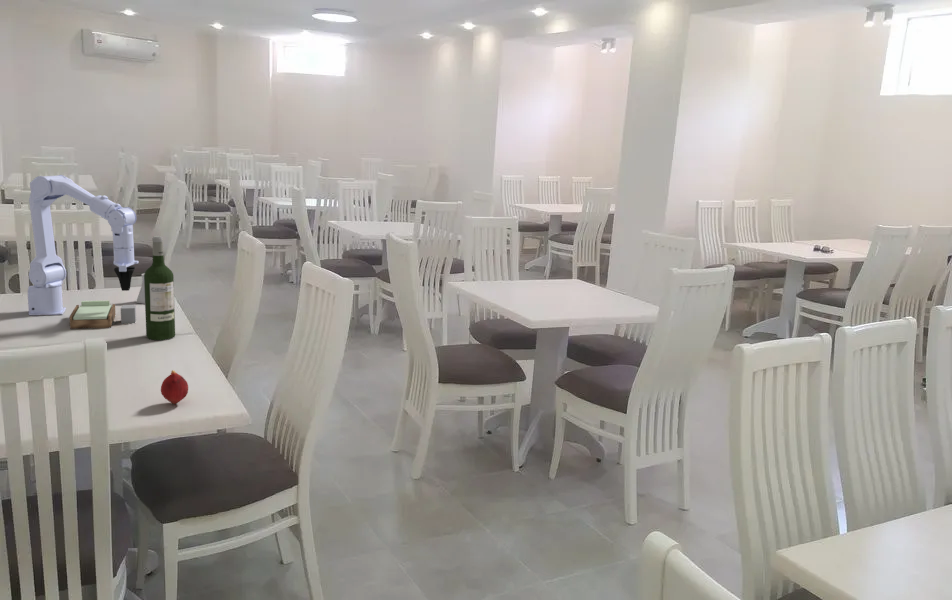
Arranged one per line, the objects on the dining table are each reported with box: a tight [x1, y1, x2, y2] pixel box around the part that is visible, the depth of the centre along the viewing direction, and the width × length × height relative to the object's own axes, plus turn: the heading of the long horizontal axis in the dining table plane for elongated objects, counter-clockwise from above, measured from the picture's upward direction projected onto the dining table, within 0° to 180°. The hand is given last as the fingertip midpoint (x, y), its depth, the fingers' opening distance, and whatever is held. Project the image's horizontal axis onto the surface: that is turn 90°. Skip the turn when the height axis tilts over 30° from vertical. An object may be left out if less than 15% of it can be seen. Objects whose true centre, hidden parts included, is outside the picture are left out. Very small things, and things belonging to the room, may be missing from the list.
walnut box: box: [69, 303, 116, 330], centre depth 229 cm, size 11×15×4 cm
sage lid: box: [73, 299, 113, 320], centre depth 229 cm, size 9×15×2 cm, turn 21°
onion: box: [160, 370, 189, 405], centre depth 168 cm, size 6×6×8 cm
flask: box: [136, 272, 145, 305], centre depth 257 cm, size 7×7×10 cm
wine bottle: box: [143, 235, 176, 341], centre depth 215 cm, size 8×8×30 cm
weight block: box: [120, 304, 137, 325], centre depth 232 cm, size 4×4×5 cm
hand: (125, 290), depth 231 cm, fingers closed
